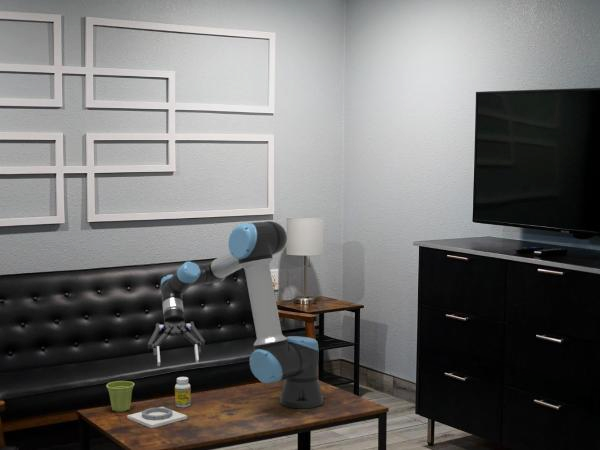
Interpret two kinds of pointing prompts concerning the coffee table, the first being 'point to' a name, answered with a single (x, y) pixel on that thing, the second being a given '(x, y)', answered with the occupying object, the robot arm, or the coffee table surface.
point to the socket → (157, 417)
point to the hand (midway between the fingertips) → (178, 363)
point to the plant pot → (120, 395)
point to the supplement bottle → (182, 392)
